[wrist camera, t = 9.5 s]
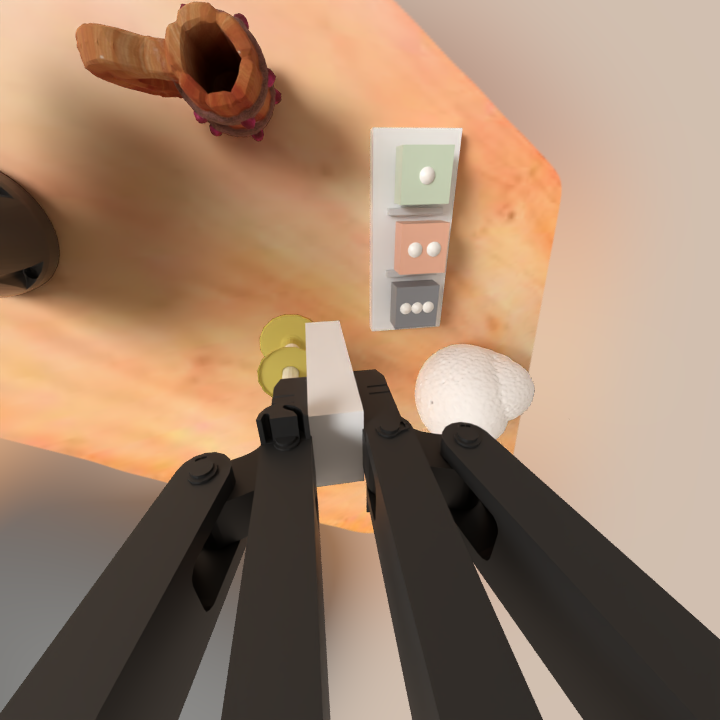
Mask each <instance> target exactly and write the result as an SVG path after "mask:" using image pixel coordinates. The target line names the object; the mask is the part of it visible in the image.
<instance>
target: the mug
mask: <svg viewBox="0 0 720 720" xmlns="http://www.w3.org/2000/svg"><path fill="white" fill-rule="evenodd" d="M248 29H249V25H248V22H247V19H246V18H245V16H244V15H242V14H240V13H238V14H235V15H234V17H233V16H232V15H230V14H228V13H226V12H224V11H222V10H218V9H215V8H214V7H213V6H212V5H210V4H209V3H205V2H192V3H189V4H181V7H180V9H179V10H178V15H177V20H176V22H174V23H171V24H169V25H168V27H167V29H166V35H165V39H162V38H153V37H150V36H142V35H139V34H136V33H132V32H129V31H126V30H123V29H119V28H116V27H111V26H106V25H101V24H94V23H89V24H82V25H81V26H80V27H79V28H78V29H77V31H76V40H77V48H78V50H79V52H80V55H81V59H82V61H83V64H84V66H85V68H86V69H87V70H89V71H90V72H91V73H92V74H93V75H95V76H97V77H99V78H101V79H103V80H106V81H108V82H111V83H114V84H116V85H119V86H122V87H125V88H129V89H133V90H137V91H141V92H145V93H149V94H153V95H160V96H162V97H179V98H183V99H184V100H185V101H186V102H187V103H188V104H189V105H190V106H191V107H192V109H193V110H194V115H195V118H196V120H197V121H198V122H199V123H206V122H207V121H208V122H209V123H210V131H211V133H212V134H213V135H215V136H220V135H222V133H226V134H228V135H231V136H236V137H247V136H252V137H253V138H254V139H255V140H256V141H261V140H262V139H263V136H264V133H263V130H262V129H263V128H264V127H265V126H266V125H267V124H268V122H269V120H270V118H271V116H272V113H273V109H274V106H275V104H278V103H279V102H280V101H281V93H280V92H279V91H278V90H277V89H275V88H274V85H273V83H274V81H275V78H276V76H275V75H274V73H273V72H272V70H270V69H269V68H267V66H266V62H265V58H264V56H263V53H262V51H261V48H260V46H259V44H258V43H257V41H256V39H255V38H254V36H253V35H252V34H251V32H250V31H249V30H248Z"/></svg>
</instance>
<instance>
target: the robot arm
mask: <svg viewBox="0 0 720 720" xmlns="http://www.w3.org/2000/svg"><path fill="white" fill-rule="evenodd" d="M58 261H59V245H58V240H57V236H56V233H55V231H54V228H53V226H52V224H51V222H50V220H49V218H48V217H47V215H46V214H45V212H44V211H43V209H42V208H41V207H40V205H39V204H38V203H37V202H36V201H35V200H34V198H33V197H32V196H31V195H30V194H29V193H28V192H26V191H25V190H24V189H23V188H22V187H21V186H20V185H18V184H17V183H16V182H14V181H13V180H12V179H10V178H9V177H7V176H6V175H4V174H3V173H1V172H0V297H10V296H16V295H20V294H23V293H25V292H28V291H30V290H33V289H35V288H38V287H39V286H41V285H43V284H44V283H46V282H47V281H48V280H49V279H50V278H51V277H52V275H53V274H54V272H55V270H56V268H57V265H58ZM305 332H306V365H307V377H297V378H286V379H280V380H279V382H278V383H277V384H276V385H275V387H274V390H273V398H272V405H271V406H269V407H267V408H265V409H264V410H263V411H262V412H261V413H260V414H259V415H258V417H257V419H256V422H257V427H258V432H259V437H260V441H261V446H260V447H259V448H257V449H256V450H254V451H253V452H251V453H249V454H247V455H245V456H242V457H239V458H236V459H234V460H231V461H230V459H229V458H228V457H227V456H226V455H225V454H221V453H217V452H212V453H204V454H201V455H198V456H195V457H193V458H192V459H190V460H188V461H187V462H185V463H184V464H183V465H182V466H181V467H180V468H179V469H178V470H177V471H176V473H175V474H174V475H173V477H172V478H171V480H170V481H169V482H168V484H167V485H166V487H165V488H164V489H163V491H162V492H161V493H160V495H159V496H158V497H157V499H156V500H155V502H154V503H153V504H152V506H151V507H150V508H149V510H148V511H147V513H146V514H145V515H144V517H143V518H142V519H141V521H140V522H139V523H138V525H137V526H136V528H135V529H134V530H133V532H132V533H131V534H130V536H129V537H128V539H127V540H126V541H125V543H124V544H123V546H122V547H121V548H120V550H119V551H118V552H117V554H116V555H115V557H114V558H113V559H112V561H111V562H110V563H109V565H108V566H107V567H106V569H105V570H104V572H103V573H102V574H101V576H100V577H99V578H98V580H97V581H96V583H95V584H94V586H93V587H92V588H91V590H90V591H89V592H88V594H87V595H86V596H85V598H84V599H83V600H82V602H81V603H80V605H79V606H78V607H77V609H76V610H75V611H74V613H73V614H72V616H71V617H70V618H69V620H68V621H67V623H66V624H65V625H64V627H63V628H62V630H61V631H60V632H59V633H58V635H57V636H56V637H55V639H54V640H53V642H52V643H51V644H50V646H49V647H48V648H47V650H46V651H45V653H44V654H43V655H42V657H41V658H40V659H39V661H38V662H37V664H36V665H35V666H34V668H33V669H32V670H31V672H30V673H29V675H28V676H27V677H26V679H25V680H24V682H23V683H22V684H21V686H20V687H19V688H18V690H17V691H16V693H15V694H14V695H13V697H12V698H11V699H10V701H9V702H8V703H7V705H6V706H5V708H4V709H3V710H2V712H1V713H0V720H178V719H179V716H180V713H181V711H182V708H183V706H184V703H185V701H186V698H187V695H188V693H189V690H190V688H191V685H192V683H193V680H194V678H195V675H196V672H197V670H198V667H199V665H200V662H201V660H202V657H203V654H204V652H205V650H206V647H207V644H208V642H209V639H210V637H211V634H212V632H213V629H214V627H215V624H216V622H217V618H218V616H219V614H220V611H221V609H222V606H223V603H224V601H225V599H226V596H227V593H228V591H229V588H230V585H231V583H232V580H233V578H234V576H235V573H236V570H237V568H238V565H239V563H240V560H241V557H242V555H243V552H244V550H245V547H246V553H245V559H244V566H243V573H242V580H241V586H240V593H239V600H238V607H237V614H236V621H235V627H234V635H233V641H232V648H231V655H230V663H229V669H228V676H227V683H226V689H225V696H224V703H223V710H222V717H221V720H330V705H329V687H328V670H327V654H326V653H327V652H326V634H325V617H324V599H323V581H322V564H321V546H320V529H319V510H318V498H317V487H321V486H328V485H335V484H343V483H350V482H357V481H364V474H365V478H366V483H367V512H370V515H371V520H372V525H373V529H374V534H375V539H376V544H377V549H378V554H379V559H380V564H381V568H382V574H383V578H384V583H385V588H386V593H387V597H388V603H389V608H390V613H391V618H392V622H393V627H394V632H395V637H396V642H397V647H398V652H399V657H400V662H401V666H402V671H403V676H404V681H405V686H406V691H407V696H408V701H409V706H410V710H411V715H412V720H543V719H542V717H541V714H540V712H539V710H538V708H537V706H536V703H535V701H534V699H533V697H532V694H531V692H530V690H529V688H528V685H527V683H526V681H525V678H524V676H523V674H522V672H521V669H520V667H519V665H518V663H517V661H516V658H515V656H514V654H513V652H512V649H511V647H510V645H509V643H508V640H507V638H506V636H505V634H504V631H503V629H502V627H501V625H500V622H499V620H498V618H497V616H496V613H495V611H494V609H493V607H492V605H491V602H490V600H489V598H488V596H487V593H486V591H485V589H484V587H483V584H482V582H481V580H480V578H479V575H478V573H477V571H476V569H475V566H476V567H477V569H478V570H479V571H480V573H481V574H482V576H483V577H484V579H485V580H486V582H487V583H488V584H489V586H490V587H491V589H492V590H493V592H494V593H495V594H496V596H497V597H498V599H499V600H500V601H501V603H502V604H503V605H504V607H505V609H506V610H507V611H508V613H509V614H510V616H511V617H512V619H513V620H514V621H515V623H516V624H517V626H518V627H519V629H520V630H521V631H522V633H523V634H524V636H525V637H526V639H527V640H528V641H529V643H530V644H531V646H532V647H533V648H534V650H535V651H536V653H537V654H538V656H539V657H540V658H541V660H542V661H543V663H544V664H545V665H546V667H547V668H548V670H549V671H550V673H551V674H552V675H553V677H554V678H555V680H556V681H557V683H558V684H559V685H560V687H561V688H562V690H563V691H564V693H565V694H566V695H567V697H568V698H569V700H570V701H571V702H572V704H573V705H574V707H575V708H576V710H577V711H578V713H579V714H580V715H581V717H582V718H583V720H720V639H719V638H718V637H717V636H715V635H714V634H713V633H712V632H711V631H710V630H708V628H707V627H705V626H704V625H703V624H702V623H701V622H700V621H699V620H698V619H696V618H695V617H694V616H693V615H692V614H691V613H690V612H689V611H687V610H686V609H685V608H684V607H683V606H682V605H681V604H680V603H678V602H677V601H676V600H675V599H674V598H673V597H672V596H671V595H669V594H668V593H667V592H666V591H665V590H664V589H663V588H662V587H660V586H659V585H658V584H657V583H656V582H655V581H654V580H653V579H652V578H650V577H649V576H648V575H647V574H646V573H644V571H642V570H641V569H640V568H639V567H638V566H637V565H636V564H635V563H633V562H632V561H631V560H630V559H629V558H628V557H627V556H626V555H625V554H623V553H622V552H621V551H620V550H619V549H618V548H617V547H615V546H614V545H613V544H612V543H611V542H610V541H609V540H608V539H606V537H604V536H603V535H602V534H601V533H600V532H599V531H598V530H597V529H595V528H594V527H593V526H592V525H591V524H590V523H589V522H588V521H586V520H585V519H584V518H583V517H582V516H581V515H580V514H578V513H577V512H576V511H575V510H574V509H573V508H572V507H571V506H570V505H568V504H567V503H566V502H565V501H564V500H563V499H562V498H560V497H559V496H558V495H557V494H556V493H555V492H554V491H553V490H552V489H550V488H549V487H548V486H547V485H546V484H545V483H544V482H542V481H541V480H540V479H539V478H538V477H537V476H536V475H535V474H533V472H531V471H530V470H529V469H528V468H527V467H526V466H525V465H524V464H522V463H521V462H520V461H519V460H518V459H517V458H516V457H515V456H513V455H512V454H511V453H510V452H509V451H508V450H507V449H506V448H504V447H503V446H502V445H501V444H500V443H499V442H498V441H497V440H496V439H494V438H493V437H492V436H491V435H490V434H489V433H488V432H487V431H485V430H484V429H482V428H481V427H479V426H477V425H474V424H471V423H465V422H457V423H451V424H450V425H448V426H446V427H445V428H444V430H443V431H442V434H435V433H427V432H422V431H418V430H416V429H413V427H412V426H411V424H410V423H409V422H408V421H407V420H405V419H404V418H402V417H401V416H400V413H399V411H398V409H397V406H396V404H395V402H394V399H393V397H392V394H391V393H390V390H389V387H388V386H387V383H386V380H385V378H384V376H383V375H382V374H381V373H379V372H378V371H377V370H376V369H374V370H363V371H353V370H352V366H351V362H350V359H349V355H348V351H347V348H346V344H345V340H344V337H343V333H342V329H341V326H340V322H339V321H326V322H312V323H305ZM473 563H474V564H475V566H474V564H473Z"/></svg>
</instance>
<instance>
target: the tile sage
mask: <svg viewBox="0 0 720 720" xmlns="http://www.w3.org/2000/svg"><path fill="white" fill-rule="evenodd" d="M454 150H455V145H400V146H397V147H396V166H395V195H394V203H395V204H398V205H421V204H449V196H450V187H451V178H452V168H453V159H454Z"/></svg>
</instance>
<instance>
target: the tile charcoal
mask: <svg viewBox="0 0 720 720" xmlns="http://www.w3.org/2000/svg"><path fill="white" fill-rule="evenodd" d="M439 289H440V285H439V284H437V283H436V282H435V281H434V280H432V279H431V280H414V281H396V282H391V309H390V322H391V324H392V325H393V327H394V328H395V329H405V328H418V327H431V326H436V316H437V307H438V298H439Z"/></svg>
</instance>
